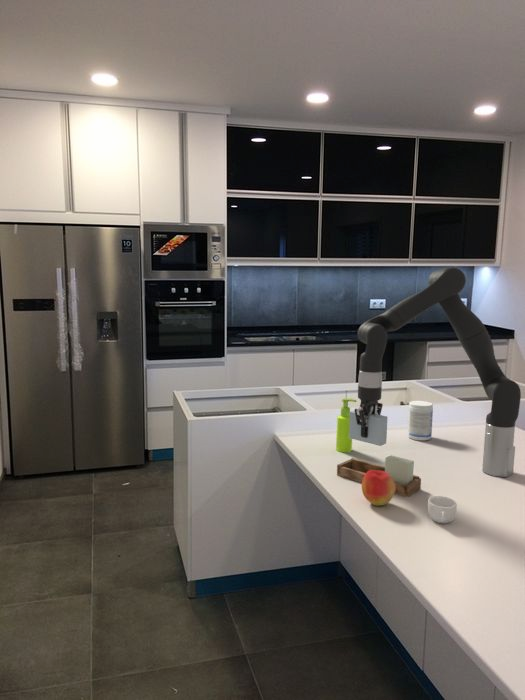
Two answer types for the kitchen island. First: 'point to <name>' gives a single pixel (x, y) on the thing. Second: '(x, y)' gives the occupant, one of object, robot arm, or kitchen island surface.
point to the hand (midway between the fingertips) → (367, 435)
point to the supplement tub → (420, 420)
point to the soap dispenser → (344, 428)
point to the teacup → (441, 509)
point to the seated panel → (399, 469)
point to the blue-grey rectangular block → (369, 429)
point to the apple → (378, 487)
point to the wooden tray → (359, 468)
